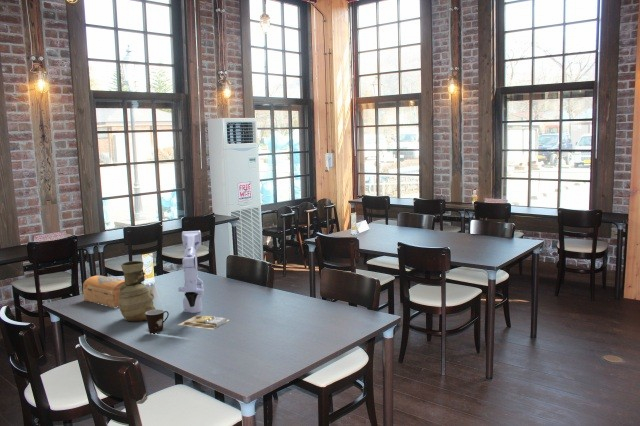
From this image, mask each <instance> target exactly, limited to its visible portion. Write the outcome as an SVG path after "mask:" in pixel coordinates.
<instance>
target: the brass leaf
mask: <svg viewBox="0 0 640 426" xmlns="http://www.w3.org/2000/svg"><path fill="white" fill-rule="evenodd" d="M202 316H203V317H201V318H199V319H197V320H195V322H196V323H204V321H206V320H209V321H211V320H213V318H212V317H213V316H212V315H202Z"/></svg>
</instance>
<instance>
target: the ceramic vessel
mask: <svg viewBox="0 0 640 426" xmlns="http://www.w3.org/2000/svg"><path fill="white" fill-rule="evenodd" d="M120 266H121V267H120V268H121V269H122V273H123V276H124V278H123V280H125V283H124V284H123V285H122V286H121V288H120V293H119V307H118V308H119V311H120V313H121V315H122V317H123V318H124V319H125V320H126V321H127V322H130V321H131V322H132V323H133V322H136V321H137V322H144V320H145V321H147V319H146V314H145V313H146V312H147V311H150V310H156V307H155V305H154V301H153V300H154V299H155V296H154V293H153V290H152V289H151V288H149V287H147V286H146V285H145V284H144V283H143V282H144V281H146V279H145V275H146V272H144V271H143V267H144V261H141V260H133V261H132V260H131V261H126V262H123V263H121V265H120ZM131 322H130V323H131Z"/></svg>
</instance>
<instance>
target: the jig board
mask: <svg viewBox="0 0 640 426" xmlns="http://www.w3.org/2000/svg"><path fill="white" fill-rule="evenodd" d="M203 316H204V315H199V314H197V315H195V316H192V317H191V318H189V319H186V320H185V321H183V322H180V323H178V324H177V326H182V327H191V328H199V329H207V330H215V329H216V328H218V327H220V326H222V325H223V324H225V323H227V322H229V321H230V319H227V318H225V323H223V324H221V325H219V326H218V327H216V325H212V324H204V323H196V322H195V320H197V319H199V318H201V317H203Z"/></svg>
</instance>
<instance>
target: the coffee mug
mask: <svg viewBox="0 0 640 426" xmlns="http://www.w3.org/2000/svg"><path fill="white" fill-rule="evenodd" d="M155 309H156V308H155ZM165 313H167V315H166V317H165V316H164V315H165ZM145 314H146V319H147V320H146V323H147V329H148V332H149V334H150V333H153V334H152V335H156V334H155V333H160V332H162V331H163V330H164V323H165V322H166V321H167V320H168V317H169V316H170V315H169V314H170V313H169V312H168V311H167V310H163V309H161V308H160V309H158V308H157V309H156V310H150V311H147V312H146V313H145ZM164 318H165V319H164Z"/></svg>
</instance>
